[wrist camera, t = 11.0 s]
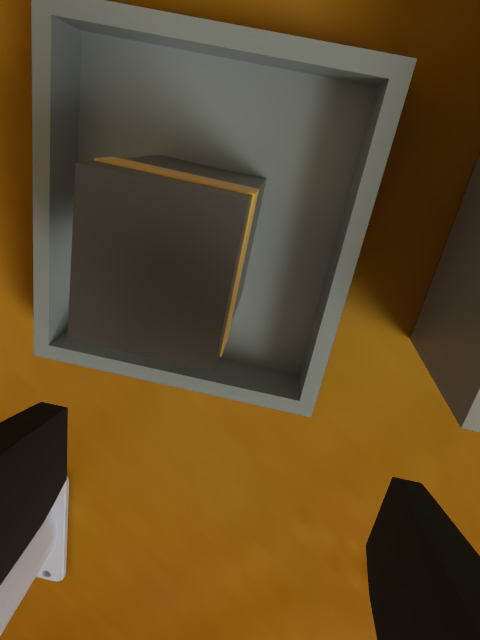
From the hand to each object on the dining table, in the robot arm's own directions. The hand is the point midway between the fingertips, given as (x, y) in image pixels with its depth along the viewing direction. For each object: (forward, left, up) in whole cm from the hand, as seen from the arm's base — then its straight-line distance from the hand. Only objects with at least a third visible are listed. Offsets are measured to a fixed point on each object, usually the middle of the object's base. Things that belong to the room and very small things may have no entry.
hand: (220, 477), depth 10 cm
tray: (-3, +4, -9) cm, 10 cm away
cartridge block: (-3, +3, -9) cm, 10 cm away
